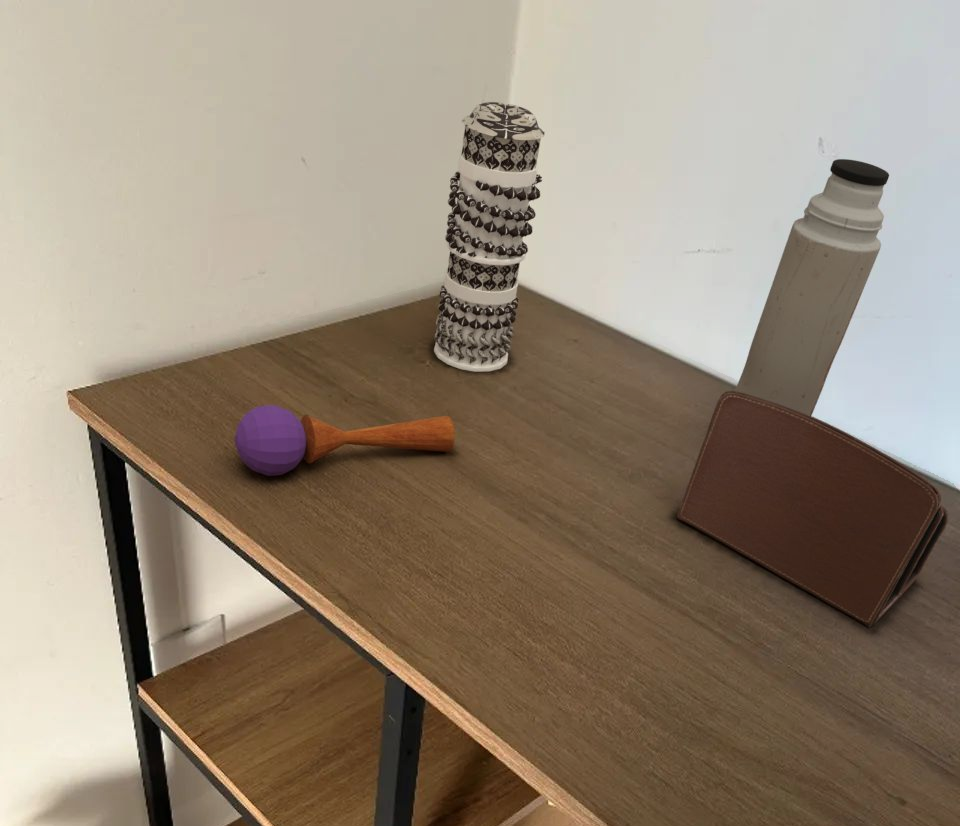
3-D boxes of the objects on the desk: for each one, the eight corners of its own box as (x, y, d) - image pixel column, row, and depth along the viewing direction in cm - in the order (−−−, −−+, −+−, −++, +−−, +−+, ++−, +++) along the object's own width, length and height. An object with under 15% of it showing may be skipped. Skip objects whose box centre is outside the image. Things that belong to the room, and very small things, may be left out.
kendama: (467, 430, 87) (249, 438, 78) (450, 478, 92) (241, 491, 83) (443, 388, 90) (231, 391, 81) (427, 437, 95) (224, 445, 86)
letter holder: (870, 630, 80) (949, 487, 71) (673, 519, 89) (720, 378, 79) (915, 583, 86) (992, 446, 77) (727, 484, 95) (776, 349, 86)
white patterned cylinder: (527, 358, 110) (572, 117, 93) (477, 381, 104) (516, 128, 87) (465, 329, 113) (498, 91, 97) (414, 349, 107) (439, 100, 91)
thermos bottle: (794, 442, 103) (907, 165, 85) (791, 478, 98) (912, 188, 79) (721, 423, 104) (817, 144, 86) (714, 457, 98) (815, 166, 80)
